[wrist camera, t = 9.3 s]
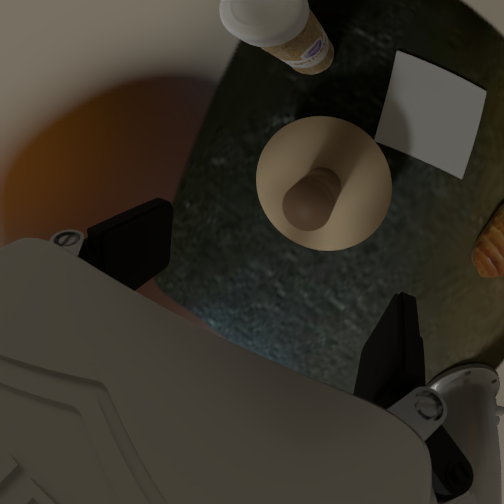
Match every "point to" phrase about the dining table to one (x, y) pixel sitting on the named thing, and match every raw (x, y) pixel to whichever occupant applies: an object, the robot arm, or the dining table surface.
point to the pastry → (490, 247)
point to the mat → (430, 114)
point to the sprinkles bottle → (280, 31)
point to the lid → (324, 183)
